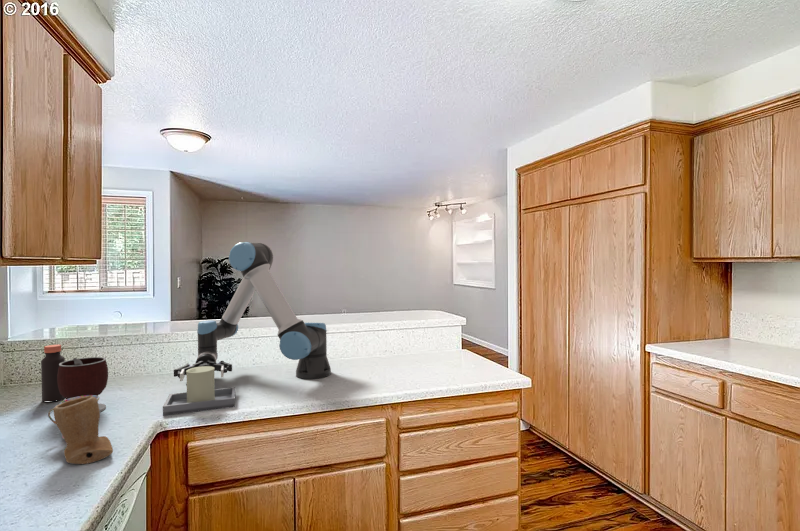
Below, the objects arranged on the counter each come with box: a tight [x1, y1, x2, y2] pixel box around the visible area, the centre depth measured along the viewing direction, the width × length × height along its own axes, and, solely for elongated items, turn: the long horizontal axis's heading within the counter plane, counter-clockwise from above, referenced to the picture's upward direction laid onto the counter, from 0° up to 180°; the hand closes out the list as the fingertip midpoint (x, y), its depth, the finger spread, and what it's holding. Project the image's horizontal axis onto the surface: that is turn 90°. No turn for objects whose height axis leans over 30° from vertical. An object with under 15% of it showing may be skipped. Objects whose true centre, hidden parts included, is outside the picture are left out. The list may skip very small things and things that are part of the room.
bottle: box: [40, 344, 66, 402], centre depth 158 cm, size 7×7×20 cm
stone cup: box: [53, 396, 114, 465], centre depth 112 cm, size 15×12×15 cm
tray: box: [162, 386, 236, 416], centre depth 151 cm, size 22×14×3 cm, turn 110°
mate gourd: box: [57, 356, 109, 413], centre depth 145 cm, size 16×14×20 cm
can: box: [185, 366, 216, 403], centre depth 151 cm, size 9×9×12 cm
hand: (201, 375), depth 156 cm, fingers open, 13 cm apart
